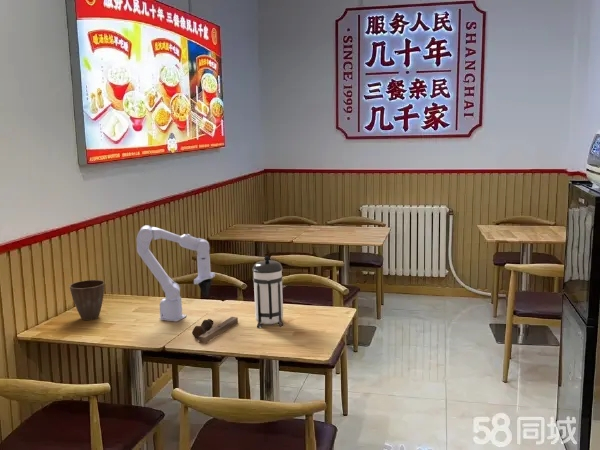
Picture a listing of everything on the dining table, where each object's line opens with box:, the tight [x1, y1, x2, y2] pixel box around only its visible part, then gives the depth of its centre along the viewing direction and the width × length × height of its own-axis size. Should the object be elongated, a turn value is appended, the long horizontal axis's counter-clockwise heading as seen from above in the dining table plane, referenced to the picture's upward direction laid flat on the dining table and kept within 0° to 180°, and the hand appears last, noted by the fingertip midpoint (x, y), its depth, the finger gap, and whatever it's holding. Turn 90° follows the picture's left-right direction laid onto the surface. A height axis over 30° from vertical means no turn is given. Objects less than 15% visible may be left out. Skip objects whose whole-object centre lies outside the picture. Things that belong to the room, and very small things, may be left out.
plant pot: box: [69, 279, 105, 321], centre depth 267 cm, size 15×15×16 cm
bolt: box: [191, 318, 214, 340], centre depth 245 cm, size 6×5×15 cm
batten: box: [198, 316, 239, 344], centre depth 244 cm, size 3×26×3 cm, turn 157°
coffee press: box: [252, 255, 285, 329], centre depth 250 cm, size 17×16×30 cm
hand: (205, 295), depth 265 cm, fingers closed
